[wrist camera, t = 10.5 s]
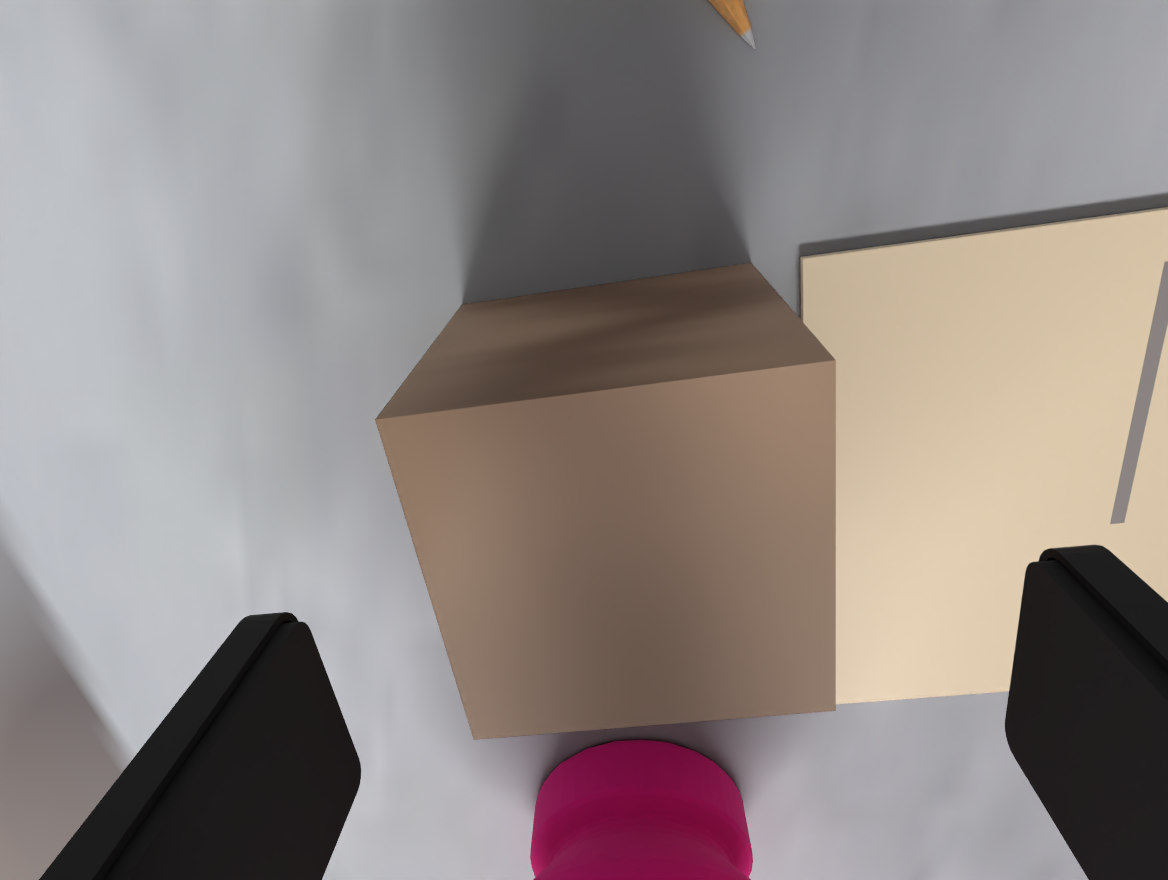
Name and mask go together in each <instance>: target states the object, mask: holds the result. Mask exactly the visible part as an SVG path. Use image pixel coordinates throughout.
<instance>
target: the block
mask: <svg viewBox="0 0 1168 880" xmlns="http://www.w3.org/2000/svg"><path fill="white" fill-rule="evenodd" d="M375 421H376V424H377V427H378V430H379V434H380V437H381V440H382V443H383V446H384V450H385V453H386V456H387V459H388V463H389V466H390V469H391V472H392V476H393V479H394V482H395V485H396V489H397V492H398V495H399V498H400V502H401V505H402V508H403V511H404V515H405V518H406V521H407V524H408V528H409V531H410V534H411V537H412V541H413V544H414V547H415V550H416V554H417V557H418V560H419V563H420V567H421V570H422V573H423V576H424V580H425V583H426V586H427V589H428V593H429V596H430V599H431V602H432V606H433V609H434V612H435V615H436V619H437V622H438V625H439V628H440V632H441V635H442V638H443V641H444V645H445V648H446V651H447V654H448V658H449V661H450V664H451V667H452V671H453V674H454V677H455V680H456V684H457V687H458V690H459V693H460V697H461V700H462V703H463V706H464V710H465V713H466V716H467V719H468V723H469V726H470V729H471V732H472V736H473V739H474V740H477V739H489V738H501V737H514V736H526V735H539V734H551V733H564V732H576V731H589V730H601V729H614V728H626V727H639V726H651V725H663V724H676V723H688V722H701V721H713V720H726V719H738V718H751V717H763V716H776V715H788V714H800V713H813V712H825V711H836V360H835V359H834V357H833V356H832V355H831V354H830V353H829V352H828V350H827V349H826V348H825V347H824V346H823V345H822V344H821V342H820V341H819V340H818V339H817V338H816V337H815V335H814V334H813V333H812V332H811V331H810V330H809V329H808V327H807V326H806V325H805V324H804V323H803V322H802V321H801V319H800V318H799V317H798V316H797V315H796V314H795V312H794V311H793V310H792V309H791V308H790V307H789V306H788V304H787V303H786V302H785V301H784V300H783V299H782V297H781V296H780V295H779V294H778V293H777V292H776V291H775V289H774V288H773V287H772V286H771V285H770V284H769V282H768V281H767V280H766V279H765V278H764V277H763V276H762V274H761V273H760V272H759V271H758V270H757V269H756V268H755V266H754V265H753V264H752V263H747V264H740V265H733V266H726V267H719V268H712V269H705V270H698V271H691V272H685V273H678V274H671V275H664V276H657V277H650V278H643V279H636V280H629V281H622V282H615V283H608V284H601V285H595V286H588V287H581V288H574V289H567V290H560V291H553V292H546V293H539V294H532V295H525V296H518V297H512V298H505V299H498V300H491V301H484V302H477V303H470V304H463V305H461V307H460V308H459V309H458V311H457V312H456V313H455V315H454V316H453V317H452V319H451V320H450V321H449V323H448V324H447V325H446V327H445V328H444V329H443V331H442V332H441V333H440V334H439V336H438V337H437V338H436V340H435V341H434V342H433V344H432V345H431V346H430V348H429V349H428V350H427V352H426V353H425V354H424V356H423V357H422V358H421V360H420V361H419V362H418V364H417V365H416V366H415V368H414V369H413V370H412V372H411V373H410V374H409V376H408V377H407V378H406V380H405V381H404V382H403V384H402V385H401V386H400V388H399V389H398V390H397V391H396V393H395V394H394V395H393V397H392V398H391V399H390V401H389V402H388V403H387V405H386V406H385V407H384V409H383V410H382V411H381V413H380V414H379V415H378V417H377V418H376V419H375Z"/></svg>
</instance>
